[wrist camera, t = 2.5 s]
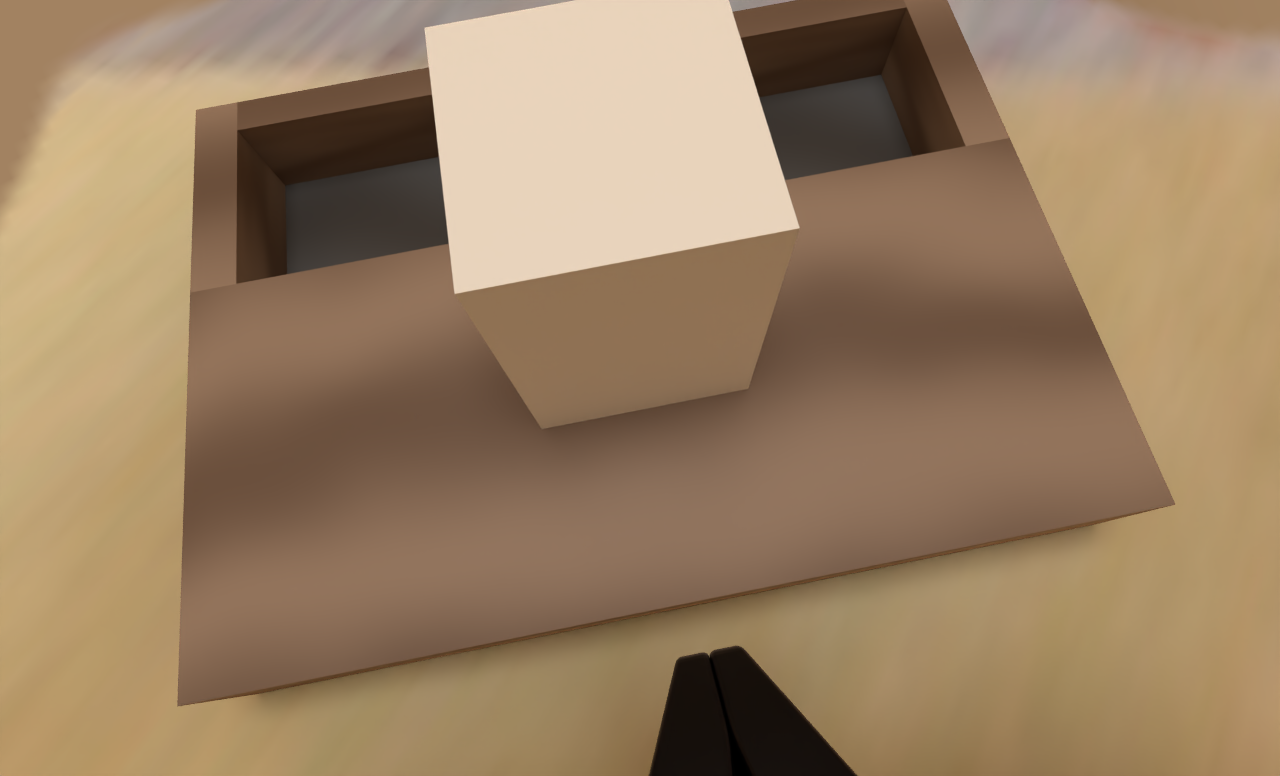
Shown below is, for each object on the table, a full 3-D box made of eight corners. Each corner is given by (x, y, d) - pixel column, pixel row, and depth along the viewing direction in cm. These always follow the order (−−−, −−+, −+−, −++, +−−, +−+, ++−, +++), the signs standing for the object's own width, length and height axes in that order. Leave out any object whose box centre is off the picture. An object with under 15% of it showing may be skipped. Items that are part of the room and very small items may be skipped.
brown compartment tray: (1096, 524, 18) (1175, 504, 15) (257, 693, 18) (177, 706, 15) (903, 54, 23) (935, -26, 20) (255, 174, 23) (196, 109, 20)
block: (748, 388, 16) (800, 227, 10) (541, 428, 16) (454, 294, 10) (702, 212, 18) (720, -26, 12) (514, 248, 18) (424, 28, 11)
